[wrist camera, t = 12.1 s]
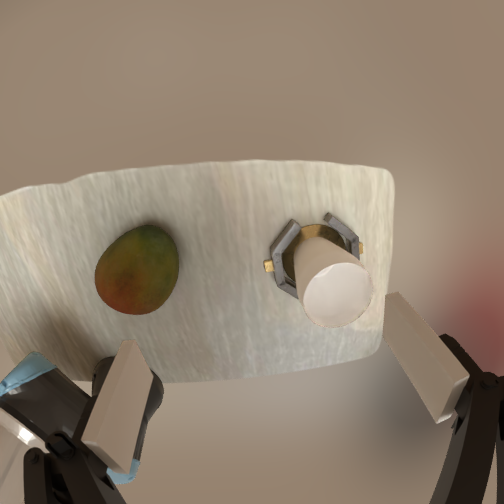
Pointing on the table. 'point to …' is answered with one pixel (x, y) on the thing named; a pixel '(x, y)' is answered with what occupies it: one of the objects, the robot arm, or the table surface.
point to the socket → (295, 236)
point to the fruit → (138, 271)
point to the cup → (330, 283)
